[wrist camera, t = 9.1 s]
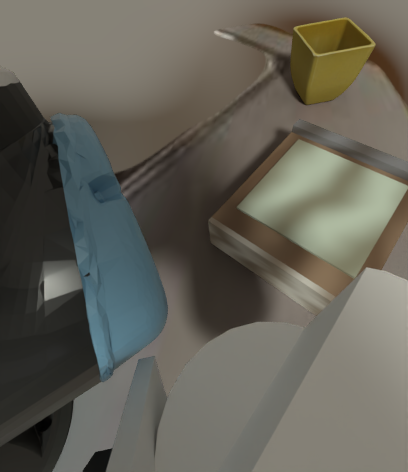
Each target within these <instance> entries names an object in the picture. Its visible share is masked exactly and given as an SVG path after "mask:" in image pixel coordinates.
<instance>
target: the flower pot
mask: <svg viewBox="0 0 408 472" xmlns="http://www.w3.org/2000/svg"><path fill="white" fill-rule="evenodd" d="M374 47H375V43H374V42H373V40H371V38H370V37H369V36H368V35H367V34H366V33H364V32H363V31H362V30H361V29H360V28H359V27H358V26H357V25H356V24H355V23H354V22H353V21H351V20H350V19H348V18H340V19H334V20H328V21H323V22H318V23H312V24H306V25H302V26H297V27H294V29H293V39H292V49H291V63H290V66H291V75H292V80H293V83H294V86H295V89H296V91H297V92H298V94H299V95H300V97H301V99H302V100H303V102H304V103H305V104H306V105H309V104H315V103H320V102H325V101H330V100H334V99H335V98H337V97H338V96H339V95H341V94H342V93H343V92H344V91H345V90H346V89H347V88H348V87H349V86H350V85H351V84H352V83H353V81H354V80H355V79H356V77H357V76H358V74H359V72H360V71H361V69H362V67H363V66H364V64H365V62H366V61H367V59H368V57H369V55H370V54H371V52H372V50H373V49H374Z"/></svg>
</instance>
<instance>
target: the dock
mask: <svg viewBox="0 0 408 472" xmlns="http://www.w3.org/2000/svg"><path fill="white" fill-rule="evenodd" d="M407 222H408V162H407V161H404V160H402V159H399V158H397V157H394V156H392V155H389V154H387V153H384V152H382V151H379V150H377V149H374V148H372V147H369V146H367V145H364V144H362V143H359V142H356V141H354V140H351V139H349V138H346V137H344V136H341V135H339V134H336V133H334V132H331V131H329V130H326V129H324V128H321V127H319V126H316V125H314V124H311V123H308V122H306V121H303V120H301V119H299V120H298V121H297V122H296V123H295V124H294V125H293V129H292V132H291V133H290V134H289V135H288V136H287V138H286V139H285V140H284V141H283V142H282V143H281V144H280V145H279V146H278V147H277V148H276V149H275V150H274V151H273V152H272V153H271V154H270V156H269V157H268V158H267V159H266V160H265V161H264V162H263V163H262V164H261V165H260V166H259V167H258V168H257V169H256V170H255V171H254V173H253V174H252V175H251V176H250V177H249V178H248V179H247V180H246V181H245V182H244V183H243V184H242V185H241V186H240V187H239V188H238V189H237V191H236V192H235V193H234V194H233V195H232V196H231V197H230V198H229V199H228V200H227V201H226V202H225V203H224V204H223V205H222V206H221V207H220V209H219V210H218V211H217V212H216V213H215V214H214V215H213V216H212V217H211V218H210V219H209V220H208V225H209V233H210V242H211V243H212V244H213V245H215V246H216V247H218V248H219V249H220V250H222V251H223V252H225V253H226V254H228V255H229V256H230V257H232V258H233V259H235V260H236V261H238V262H239V263H241V264H242V265H243V266H245V267H246V268H248V269H249V270H251V271H252V272H254V273H255V274H256V275H258V276H259V277H261V278H262V279H264V280H265V281H267V282H268V283H269V284H271V285H272V286H274V287H275V288H277V289H278V290H280V291H281V292H282V293H284V294H285V295H287V296H288V297H290V298H291V299H293V300H294V301H295V302H297V303H298V304H300V305H301V306H303V307H304V308H306V309H307V310H308V311H310V312H311V313H313V314H314V315H316V316H317V315H318V314H319V313H320V312H321V311H322V310H323V309H324V308H326V307H327V306H328V305H329V304H330V303H331V302H332V301H333V300H334V299H335V298H336V297H337V296H338V295H339V294H340V293H341V292H342V291H343V290H344V289H345V288H346V287H347V286H348V285H349V284H350V283H351V282H352V281H353V280H354V279H355V278H356V277H357V276H358V275H359V274H360V273H361V272H362V271H363V270H364V269H365V268H366V267H367V268H372V269H377V270H382V268H383V266H384V264H385V262H386V261H387V259H388V257H389V255H390V253H391V251H392V250H393V248H394V246H395V244H396V242H397V240H398V239H399V237H400V235H401V233H402V231H403V230H404V228H405V226H406V224H407Z"/></svg>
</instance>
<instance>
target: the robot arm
mask: <svg viewBox="0 0 408 472" xmlns="http://www.w3.org/2000/svg"><path fill="white" fill-rule="evenodd" d="M51 121H52V122H48V121H47V120H46V119H45V118H44V117H43V116H42V115H41V113H40V111H39V110H38V108H37V107H36V105H35V104H34V102H33V101H32V99H31V98H30V96H29V95H28V93H27V92H26V90H25V89H24V87H23V86H22V84H21V83H20V81H19V79H18V78H17V77H16V75H15V74H14V73H13V72H12V71H10V70H8V69H5V68H3V67H1V66H0V472H52V471H53V469H54V467H55V465H56V463H57V461H58V459H59V456H60V454H61V452H62V449H63V446H64V444H65V440H66V437H67V434H68V430H69V425H70V420H71V412H72V400H73V399H75V398H77V397H78V396H80V395H81V394H83V393H84V392H86V391H87V390H89V389H90V388H92V387H94V386H95V385H97V384H98V383H100V382H101V381H102V382H104V381H106V380H108V379H109V378H110V377H111V376H112V375H113V372H114V370H115V369H116V368H118V367H119V366H120V365H122V364H123V363H124V362H126V361H127V360H128V359H130V358H131V357H132V356H134V355H135V354H136V353H138V352H139V351H140V350H142V349H143V348H144V347H146V346H147V345H148V344H150V343H151V342H152V341H153V340H155V338H156V337H157V336H158V335H159V334H160V333H161V331H162V330H163V328H164V326H165V323H166V320H167V314H168V305H167V298H166V294H165V291H164V288H163V285H162V282H161V279H160V277H159V274H158V271H157V269H156V266H155V263H154V261H153V258H152V256H151V253H150V251H149V248H148V246H147V243H146V241H145V239H144V236H143V234H142V232H141V229H140V227H139V224H138V222H137V220H136V218H135V216H134V214H133V211H132V209H131V207H130V205H129V203H128V201H127V199H126V198H125V197H124V196H123V194H122V193H121V187H120V184H119V182H118V180H117V178H116V176H115V174H114V172H113V170H112V167H111V164H110V161H109V159H108V157H107V155H106V153H105V151H104V149H103V147H102V145H101V143H100V141H99V139H98V138H97V136H96V134H95V132H94V130H93V129H92V127H91V125H89V124H88V122H87V121H86V120H85V119H84V118H82V117H80V116H78V115H65V114H61V113H57V114H55V115H53V116H51ZM166 401H167V397H166V393H165V390H164V386H163V383H162V379H161V376H160V372H159V369H158V366H157V362H156V359H155V356H153V357H148V358H143V359H139V360H138V364H137V367H136V370H135V374H134V377H133V381H132V384H131V387H130V391H129V394H128V398H127V401H126V404H125V408H124V411H123V415H122V418H121V421H120V425H119V428H118V432H117V435H116V438H115V442H114V445H113V448H112V449H108V450H103V451H98V452H95V453H94V455H93V456H92V458H91V459H90V461H89V462H88V464H87V465H86V467H85V468H84V470H83V472H155V451H156V441H157V432H158V427H159V423H160V420H161V417H162V414H163V411H164V408H165V405H166Z"/></svg>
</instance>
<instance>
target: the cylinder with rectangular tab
mask: <svg viewBox="0 0 408 472" xmlns="http://www.w3.org/2000/svg"><path fill="white" fill-rule="evenodd" d="M155 472H408V280H406V279H403V278H401V277H398V276H396V275H393V274H391V273H389V272H386V271H382V270H377V269H372V268H367V267H366V268H365V269H364V270H363V271H362V272H361V273H360V274H359V275H358V276H357V277H356V278H355V279H354V280H353V281H352V282H351V283H350V284H349V285H348V286H347V287H346V288H345V289H344V290H343V291H342V292H341V293H340V294H339V295H338V296H337V297H336V298H335V299H334V300H333V301H332V302H331V303H330V304H329V305H328V306H327V307H326V308H324V309H323V310H322V311H321V312H320V313H319V314H318V315H317V316H316V317H315V318H314V319H313V320H312V321H311V322H310V323H309V324H308V325H307V326H306V327H301V326H297V325H293V324H290V323H286V322H255V323H251V324H247V325H244V326H240V327H236V328H232V329H230V330H228V331H226V332H225V333H223V334H221V335H220V336H218V337H216V338H214V339H213V340H211V341H209V342H208V343H206V344H205V345H204V346H203V347H202V348H201V349H200V350H199V351H198V353H197V354H196V355H195V356H194V357H193V358H192V359H191V360H190V361H189V362H188V363H187V364H186V365H185V367H184V369H183V370H182V372H181V374H180V375H179V377H178V379H177V380H176V382H175V384H174V386H173V387H172V389H171V391H170V392H169V395H168V398H167V401H166V405H165V408H164V411H163V414H162V417H161V420H160V423H159V427H158V432H157V441H156V451H155Z"/></svg>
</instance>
